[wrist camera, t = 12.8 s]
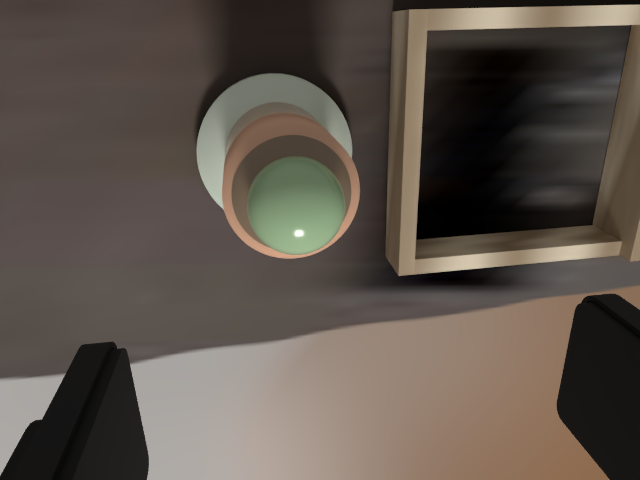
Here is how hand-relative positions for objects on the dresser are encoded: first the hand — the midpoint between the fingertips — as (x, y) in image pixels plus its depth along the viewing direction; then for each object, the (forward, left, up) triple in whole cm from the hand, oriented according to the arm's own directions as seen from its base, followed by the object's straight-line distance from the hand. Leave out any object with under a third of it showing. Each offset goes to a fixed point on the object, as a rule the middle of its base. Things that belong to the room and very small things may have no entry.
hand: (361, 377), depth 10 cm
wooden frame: (-15, 0, -22) cm, 26 cm away
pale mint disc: (0, 0, -22) cm, 22 cm away
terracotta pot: (0, 0, -21) cm, 21 cm away
